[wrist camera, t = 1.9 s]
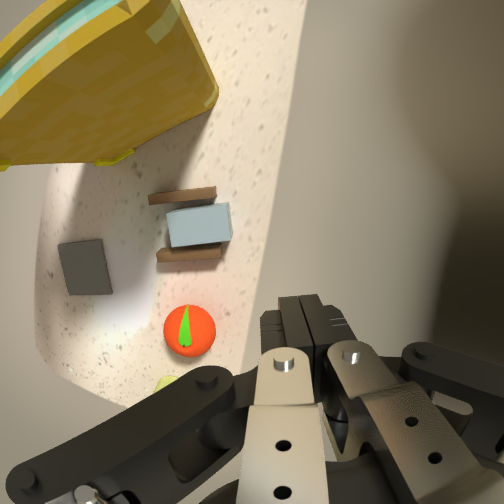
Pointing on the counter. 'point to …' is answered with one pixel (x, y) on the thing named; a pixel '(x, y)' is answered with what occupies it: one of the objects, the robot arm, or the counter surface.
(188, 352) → the clementine
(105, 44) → the book
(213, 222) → the block
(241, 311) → the counter surface
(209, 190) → the slot
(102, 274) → the mat
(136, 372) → the counter surface
